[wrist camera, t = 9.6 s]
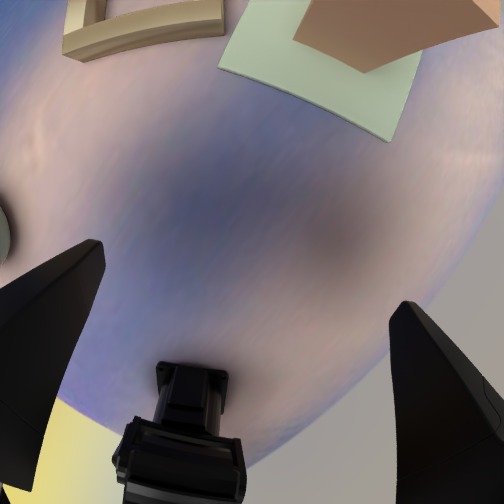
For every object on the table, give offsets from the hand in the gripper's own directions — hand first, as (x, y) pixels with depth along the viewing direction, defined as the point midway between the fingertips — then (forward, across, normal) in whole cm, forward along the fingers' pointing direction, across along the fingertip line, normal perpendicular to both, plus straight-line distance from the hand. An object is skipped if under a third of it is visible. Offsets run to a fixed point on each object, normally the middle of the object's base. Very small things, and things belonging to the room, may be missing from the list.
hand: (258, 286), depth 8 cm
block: (+14, -3, -10) cm, 17 cm away
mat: (+15, -3, -10) cm, 18 cm away
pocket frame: (+14, +10, -11) cm, 21 cm away
